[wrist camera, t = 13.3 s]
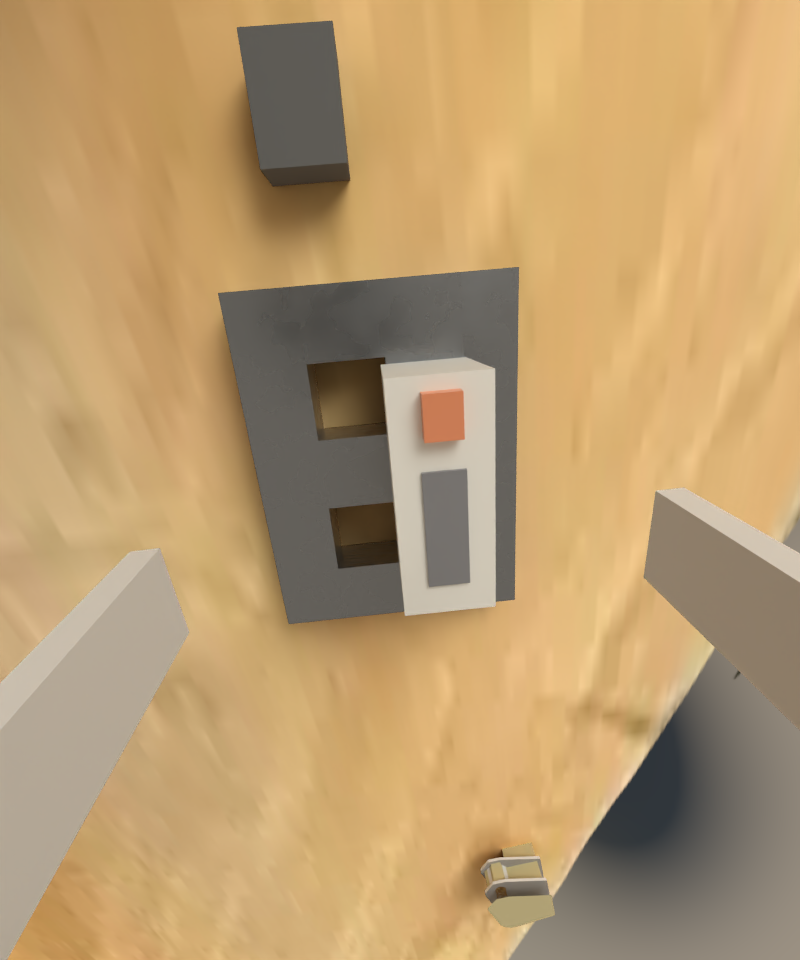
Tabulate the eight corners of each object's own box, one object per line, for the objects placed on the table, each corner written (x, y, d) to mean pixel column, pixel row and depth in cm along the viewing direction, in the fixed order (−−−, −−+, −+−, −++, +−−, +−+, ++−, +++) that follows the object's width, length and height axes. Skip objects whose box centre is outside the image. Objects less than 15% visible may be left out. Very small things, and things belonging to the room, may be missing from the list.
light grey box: (396, 537, 35) (405, 624, 25) (379, 360, 30) (383, 380, 20) (462, 530, 35) (499, 614, 25) (457, 353, 30) (499, 370, 20)
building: (543, 819, 50) (562, 876, 45) (551, 865, 53) (570, 923, 48) (459, 837, 50) (469, 896, 45) (472, 881, 54) (483, 941, 48)
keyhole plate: (296, 597, 37) (288, 624, 34) (235, 296, 29) (217, 293, 25) (502, 575, 38) (514, 599, 34) (502, 272, 29) (518, 267, 26)
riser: (272, 186, 27) (260, 169, 24) (253, 62, 25) (236, 27, 22) (350, 180, 27) (347, 162, 24) (337, 57, 25) (332, 20, 22)
